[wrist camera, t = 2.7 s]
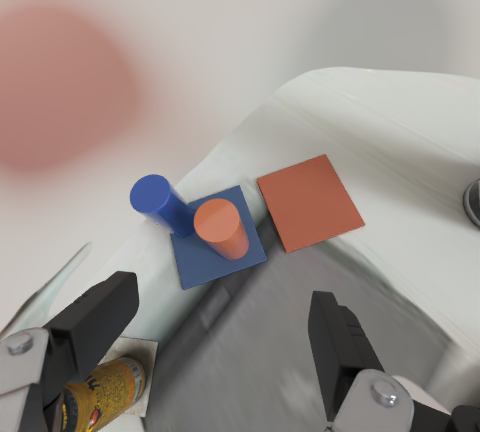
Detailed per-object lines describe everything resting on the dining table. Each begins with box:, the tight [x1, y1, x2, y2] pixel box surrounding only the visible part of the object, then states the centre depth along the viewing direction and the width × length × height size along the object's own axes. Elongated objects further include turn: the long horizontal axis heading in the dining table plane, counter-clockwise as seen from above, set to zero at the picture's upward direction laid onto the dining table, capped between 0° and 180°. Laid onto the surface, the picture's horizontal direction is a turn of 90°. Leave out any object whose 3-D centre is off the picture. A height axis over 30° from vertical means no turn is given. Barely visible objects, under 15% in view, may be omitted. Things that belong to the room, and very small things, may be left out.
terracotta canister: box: [194, 199, 249, 260], centre depth 30 cm, size 5×5×11 cm
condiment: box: [60, 337, 158, 432], centre depth 26 cm, size 7×8×12 cm
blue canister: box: [130, 175, 196, 238], centre depth 32 cm, size 5×5×11 cm
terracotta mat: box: [257, 154, 365, 253], centre depth 36 cm, size 12×13×1 cm
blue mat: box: [170, 185, 267, 290], centre depth 37 cm, size 13×13×1 cm
